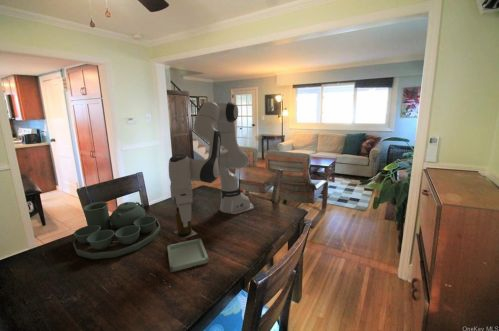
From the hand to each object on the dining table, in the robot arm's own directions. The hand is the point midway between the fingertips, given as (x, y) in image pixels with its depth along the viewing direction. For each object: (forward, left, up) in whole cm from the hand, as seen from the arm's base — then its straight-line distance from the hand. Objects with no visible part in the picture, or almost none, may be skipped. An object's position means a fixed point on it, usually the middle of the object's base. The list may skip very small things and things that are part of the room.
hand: (184, 222), depth 104 cm
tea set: (+30, -32, -17) cm, 47 cm away
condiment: (0, +1, -5) cm, 5 cm away
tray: (0, 0, -16) cm, 16 cm away
